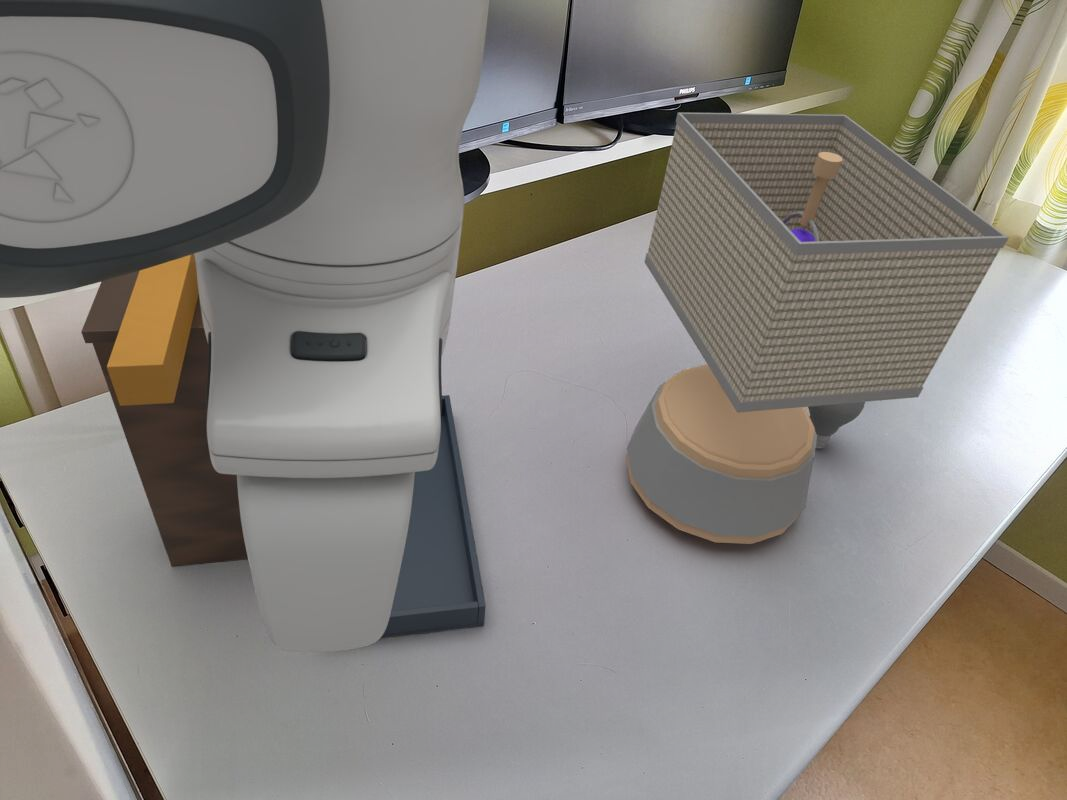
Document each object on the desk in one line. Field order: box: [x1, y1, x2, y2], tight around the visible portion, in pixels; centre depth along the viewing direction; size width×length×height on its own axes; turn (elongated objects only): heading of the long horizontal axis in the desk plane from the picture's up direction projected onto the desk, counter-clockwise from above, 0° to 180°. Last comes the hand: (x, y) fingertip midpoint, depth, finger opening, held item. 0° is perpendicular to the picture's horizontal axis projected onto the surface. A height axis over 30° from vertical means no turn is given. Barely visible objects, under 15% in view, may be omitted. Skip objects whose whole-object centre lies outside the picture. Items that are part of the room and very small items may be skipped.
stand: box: [81, 271, 248, 567], centre depth 63 cm, size 11×9×26 cm
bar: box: [107, 254, 199, 406], centre depth 53 cm, size 3×22×3 cm, turn 12°
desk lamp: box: [625, 112, 1009, 545], centre depth 69 cm, size 22×19×37 cm
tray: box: [380, 394, 487, 639], centre depth 73 cm, size 13×27×3 cm, turn 12°
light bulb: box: [807, 402, 866, 449], centre depth 85 cm, size 6×6×10 cm
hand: (331, 520), depth 36 cm, fingers open, 8 cm apart
